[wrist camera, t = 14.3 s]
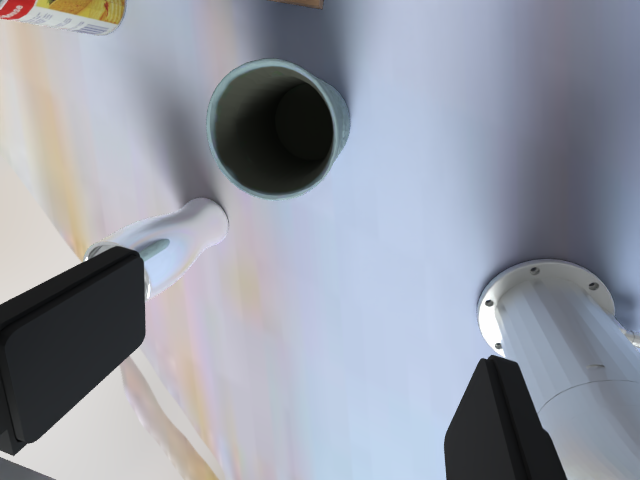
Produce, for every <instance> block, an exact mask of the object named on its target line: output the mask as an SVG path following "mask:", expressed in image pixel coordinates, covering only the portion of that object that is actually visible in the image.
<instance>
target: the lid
mask: <svg viewBox="0 0 640 480" xmlns="http://www.w3.org/2000/svg"><path fill="white" fill-rule="evenodd" d="M269 1H275V2H281V3H287V4H293V5H299V6H305V7H311V8H316V9H323V2H324V0H269Z"/></svg>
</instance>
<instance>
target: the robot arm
mask: <svg viewBox="0 0 640 480" xmlns="http://www.w3.org/2000/svg"><path fill="white" fill-rule="evenodd" d="M534 267H535V268H534ZM532 268H534V269H532ZM486 300H488V301H486ZM477 320H478V325H479V328H480V331H481V334H482V336H483V338H484V339H485V341H486V342H487V344H488V345H489V346H490V347H491V348H492V349H493V350H494V351H495V352H497V353H498V354H500V355H501V356H503V357H504V358H501V357H498V356H495V355H491V356H490V357H489V358H488V359H484V358H482V359H480V361H479V363H478V365H477V367H476V369H475V371H474V373H473V376H472V378H471V380H470V382H469V384H468V386H467V389H466V391H465V393H464V395H463V397H462V399H461V402H460V404H459V406H458V408H457V410H456V412H455V415H454V417H453V419H452V421H451V423H450V426H449V428H448V430H447V432H446V435H445V441H444V453H445V466H446V478H447V480H640V352H639V351H638V350H637V349H636V348H635V347H638V348H640V333H638V332H634V331H628V330H625V329H624V328H623V326H622V325H621V324H620V323H619V322H618V321H617V320H616V319H615V307H614V301H613V299H612V296H611V294H610V292H609V290H608V289H607V287H606V286H605V285H604V283H603V282H602V281H601V280H600V279H599V278H598V277H597V276H596V275H594V274H593V273H592V272H590V271H589V270H587V269H586V268H584V267H581V266H579V265H577V264H575V263H571V262H567V261H563V260H556V259H539V260H531V261H527V262H523V263H520V264H517V265H515V266H512V267H510V268H508V269H506V270H505V271H503V272H501V273H500V274H498V275H497V276H496V277H495V278H494V279H493V280H491V281H490V283H489V284H488V285H487V286H486V288H485V289H484V290H483V292H482V294H481V297H480V299H479V302H478V306H477ZM144 338H145V284H144V261H143V259H142V258H141V257H140V254H139V252H137V251H135V250H132V249H128V248H125V247H121V246H114V247H112V248H110V249H108V250H106V251H104V252H102V253H100V254H98V255H96V256H94V257H92V258H90V259H88V260H87V261H85V262H83V263H81V264H79V265H77V266H75V267H73V268H71V269H69V270H67V271H65V272H63V273H61V274H59V275H57V276H55V277H53V278H51V279H49V280H48V281H46V282H44V283H42V284H40V285H38V286H36V287H34V288H32V289H30V290H28V291H26V292H24V293H22V294H20V295H18V296H16V297H14V298H12V299H10V300H8V301H7V302H4V303H3V304H1V305H0V450H1V451H3V452H6V453H8V454H10V455H13V456H14V455H15V454H16V453H18V452H19V451H20V450H21V449H22V448H23V447H24V446H25V445H26V444H27V443H33V442H35V441H36V440H38V439H39V438H40V437H41V436H42V435H43V434H45V433H46V432H47V431H48V430H49V429H50V428H51V427H52V426H53V425H54V424H55V423H56V422H58V421H59V420H60V419H61V418H62V417H63V416H64V415H65V414H66V413H67V412H68V411H69V410H71V409H72V408H73V407H74V406H75V405H76V404H77V403H78V402H79V401H80V400H81V399H82V398H84V397H85V396H86V395H87V394H88V393H89V392H90V391H91V390H92V389H93V388H95V387H96V385H98V384H99V383H100V382H101V381H102V380H103V379H104V378H105V377H106V376H108V375H109V374H110V373H111V372H112V371H113V370H114V369H115V368H116V367H117V366H118V365H120V364H121V363H122V362H123V361H124V360H125V359H126V358H127V357H128V356H129V355H130V354H131V353H133V352H134V351H135V350H136V349H137V348H138V347H139V346H140V345H141V344H142V342H143V340H144ZM505 358H506V359H505ZM0 480H56V479H53V478H51V477H48V476H46V475H43V474H41V473H38V472H36V471H33V470H31V469H28V468H26V467H23V466H21V465H18V464H16V463H13V462H11V461H8V460H6V459H3V458H1V457H0Z"/></svg>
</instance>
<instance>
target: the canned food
mask: <svg viewBox="0 0 640 480" xmlns="http://www.w3.org/2000/svg"><path fill="white" fill-rule="evenodd" d="M125 9H126V0H0V18H1V19H7V20H13V21H18V22H24V23H30V24H35V25H41V26H46V27H52V28H58V29H63V30H69V31H75V32H80V33H86V34H92V35H97V36H99V35H107V34H109V33H111V32H113V31H114V30H115V29H116V28H117V27H118V26H119V25H120V23H121V21H122V19H123V17H124V14H125Z"/></svg>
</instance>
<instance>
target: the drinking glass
mask: <svg viewBox="0 0 640 480" xmlns="http://www.w3.org/2000/svg"><path fill="white" fill-rule="evenodd" d="M206 131H207V138H208V143H209V147H210V150H211V153H212V156H213V158H214V160H215V161H216V163H217V165H218V167H219V169H220V170H221V171H222V173H223V174H224V175H225V176H226V177H227V178H228V179H229V181H230V182H231V183H233V184H234V185H235V186H236V187H238V188H239V189H240V190H242V191H244V192H245V193H247V194H249V195H252V196H254V197H257V198H261V199H265V200H273V201H279V200H288V199H292V198H296V197H299V196H301V195H304V194H305V193H307V192H309V191H310V190H312V189H313V188H314V187H315V186H317V185H318V184H319V183H320V182H321V181H322V180H323V179H324V178H325V176H326V175H327V173H328V172H329V171H330V169H331V167H332V165H333V163H334V161H335V160H336V158H337V157H338V155H339V154H340V152H341V151H342V149H343V148H344V146H345V144H346V142H347V139H348V136H349V131H350V116H349V112H348V108H347V106H346V103H345V101H344V99H343V98H342V96H341V95H340V94H339V92H338V91H337V90H336V89H334V88H333V87H332V86H331V85H329V84H328V83H326V82H324V81H323V80H321V79H319V78H317V77H315V76H313V75H312V74H311V73H309V72H308V71H306V70H305V69H303V68H302V67H300V66H298V65H296V64H294V63H291V62H289V61H286V60H281V59H277V58H266V59H260V60H255V61H251V62H247V63H245V64H243V65H241V66H239V67H237V68H235V69H234V70H232V71H231V72H230V73H229V74H228V75H226V76H225V77H224V78H223V80H222V81H221V82H220V83H219V84H218V86H217V87H216V89H215V91H214V93H213V95H212V97H211V100H210V103H209V106H208V110H207V118H206Z"/></svg>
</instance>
